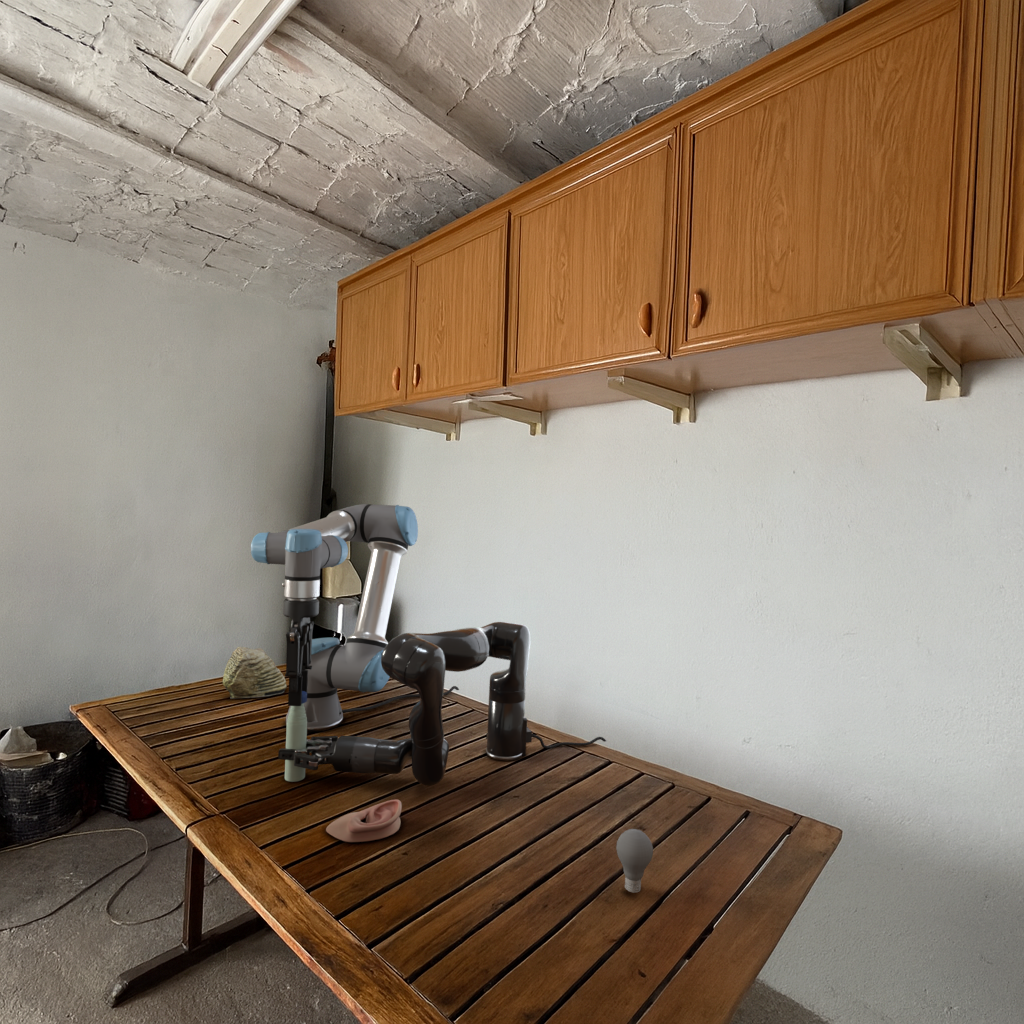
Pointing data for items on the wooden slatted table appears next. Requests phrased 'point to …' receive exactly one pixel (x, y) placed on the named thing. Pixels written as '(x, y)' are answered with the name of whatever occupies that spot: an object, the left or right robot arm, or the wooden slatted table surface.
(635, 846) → the light bulb
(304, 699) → the cap
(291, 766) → the bottle
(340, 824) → the anatomical model
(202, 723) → the wooden slatted table surface
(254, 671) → the fossil
